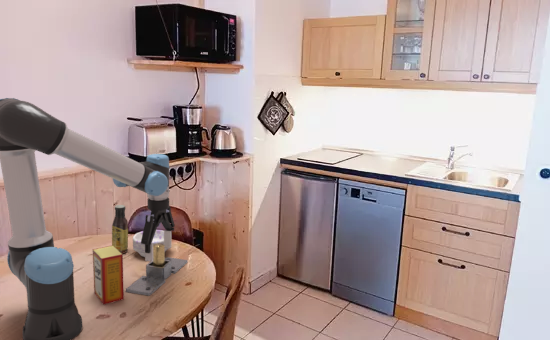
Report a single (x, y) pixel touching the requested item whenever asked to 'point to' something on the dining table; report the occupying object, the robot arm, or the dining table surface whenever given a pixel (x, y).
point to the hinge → (155, 276)
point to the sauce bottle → (120, 230)
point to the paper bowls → (140, 247)
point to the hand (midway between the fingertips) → (158, 253)
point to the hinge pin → (159, 255)
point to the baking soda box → (108, 274)
